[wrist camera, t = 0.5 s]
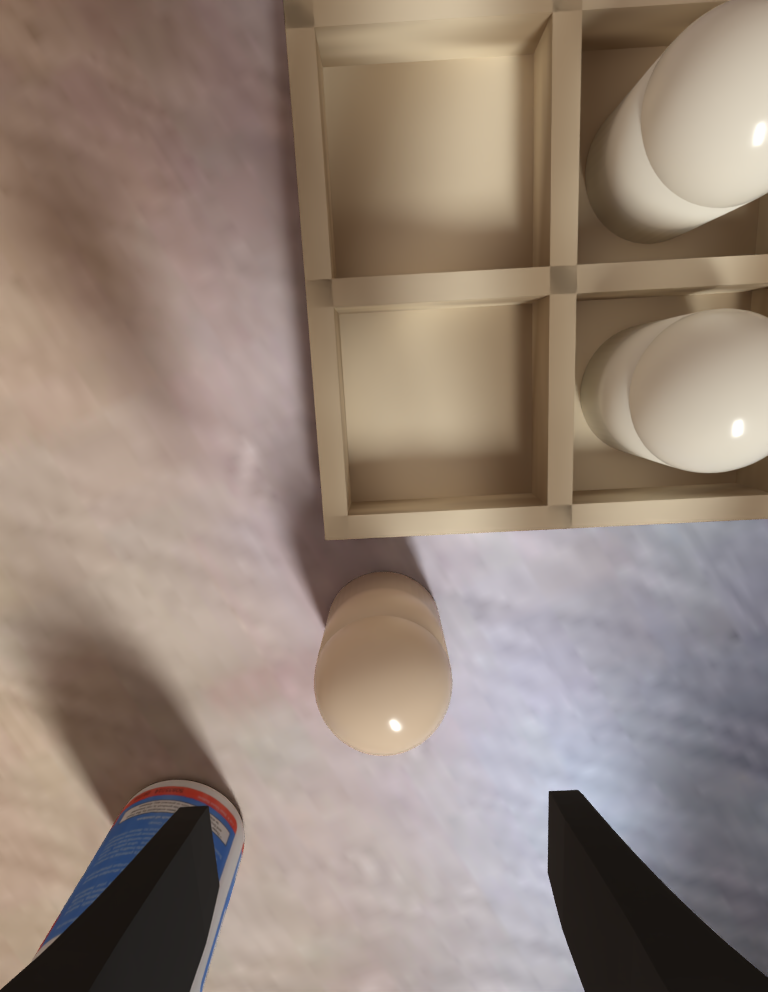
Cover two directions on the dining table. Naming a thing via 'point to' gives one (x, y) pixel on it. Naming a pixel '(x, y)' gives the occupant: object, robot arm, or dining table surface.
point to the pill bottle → (137, 831)
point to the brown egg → (383, 665)
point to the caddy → (488, 265)
